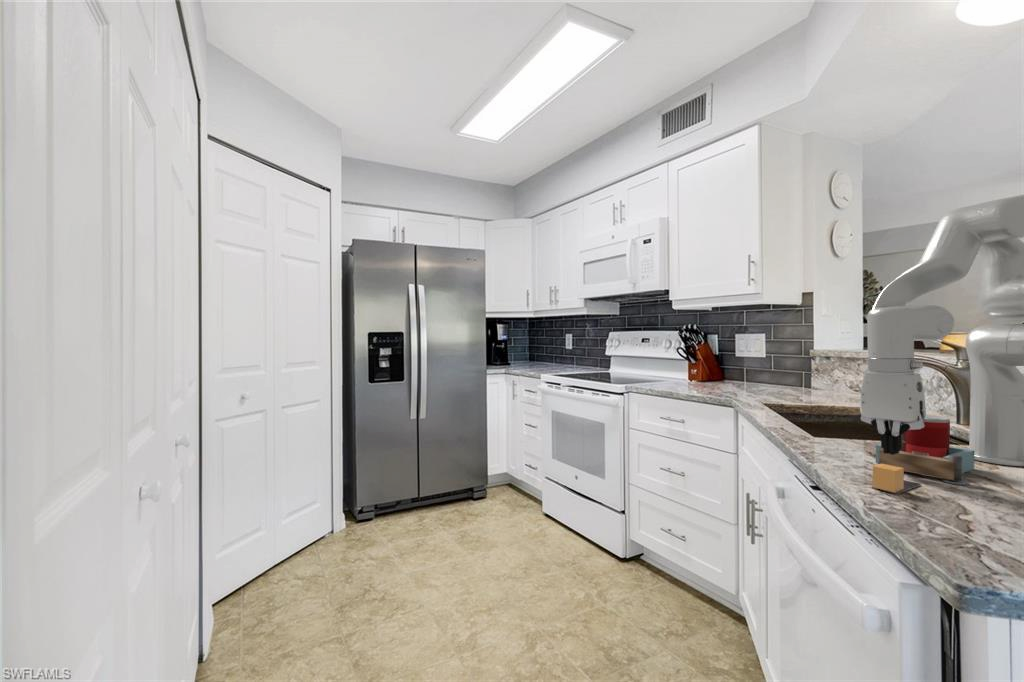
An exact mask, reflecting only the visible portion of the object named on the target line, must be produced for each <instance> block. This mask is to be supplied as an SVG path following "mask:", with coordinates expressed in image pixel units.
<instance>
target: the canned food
mask: <svg viewBox="0 0 1024 682" xmlns="http://www.w3.org/2000/svg"><path fill="white" fill-rule="evenodd" d="M923 423H924V426H925V427H924V428H922V429H914V430H908V431H907V432H905V433H904V434H902V451H903V452H909V453H915V454H921V455H927V456H933V457H939V458H943V457H945V456H948V455H949V447H951V446H950V444H951V438H950V437H951V434H950V433H951V420H950V418H949V417H946V416H942V415H934V414H927V413H926V417H925V419H923Z"/></svg>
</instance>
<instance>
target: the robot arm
mask: <svg viewBox="0 0 1024 682" xmlns="http://www.w3.org/2000/svg"><path fill="white" fill-rule="evenodd" d="M1020 238H1024V193H1023V194H1018V195H1014V196H1009V197H1004V198H999V199H993V200H990V201H985V202H981V203H978V204H972V205H968V206H964V207H960V208H956V209H952V210H950V211H949V212H947V213H945V214H944V215H943V216H942V217H941V219H940V220H939V222H938V223H937V225H936V227H935V229H934V231H933V233H932V235H931V237H930V240H929V242H928V243H927V245H926V248H925V249H924V252H923V253H922V256H921V257H920V259H919V261H918V263H916V264H915V265H913V266H912V267H910V268H908V269H907V270H906V271H904V272H903V273H902V274H900V275H899V276H898V277H896V278H895V279H894V280H892V281H891V282H890V283H889V284H887V285H886V286H885V287H884V288H883V289H882V291H881V292H880V293H879V295H878V296H877V298H876V300H875V301H874V304H873V306H872V309H870V310H869V312H868V313H867V319H866V320H867V321H866V323H867V324H866V325H867V328H866V329H867V371H865V372H863V373H864V374H863V378H862V382H861V388H860V397H859V410H860V414H861V415H860V420H861V421H862V422H864V423H867V424H870V425H872V426H873V427H874V428H875V429H876V430H877V432H878V434H880V444H881V447H882V448H883V452H884V453H886V454H888V453H889V454H891V455H894V454H897V453H899V451H901V449H902V434H904V433H905V432H907V431H908V430H914V429H922V428H924V427H925V426H924V423H923V419H925V417H926V414H927V411H926V409H927V408H926V399H925V398H926V397H925V393H924V392H925V391H924V387H923V386H924V385H923V381H922V377H921V374H920V373H918V372H917V373H915V372H916V370H918V369H920V370H921V369H923V367H924V363H923V362H922V361H917V360H916V358H915V341H916V342H917V341H920V342H932V341H938V340H941V339H944V338H946V337H947V336H949V335H950V333H951V332H952V331H953V329H954V327H955V319H954V316H953V314H952V312H951V311H949V310H948V309H947V308H945V307H943V306H941V305H936V304H934V305H933V304H923V305H909V304H910V303H911V302H912V301H914V300H916V299H918V298H920V297H921V296H923V295H926V294H928V293H930V292H934V291H937V290H939V289H942V288H945V287H947V286H949V285H952V284H954V283H956V282H959V281H960V280H962V279H963V278H965V277H966V276H968V274H969V272H970V270H971V268H972V266H973V263H974V261H975V259H976V257H977V255H978V257H979V262H980V265H979V266H980V271H979V283H978V298H977V300H978V301H977V303H978V305H977V306H978V310H979V312H980V313H981V314H982V315H983V316H985V317H988V318H992V319H995V318H996V319H1024V242H1023V240H1022V239H1020ZM965 350H966V354H967V358H968V364H969V370H970V373H969V374H970V394H969V395H970V396H969V397H970V401H969V402H970V403H969V405H970V406H969V446H968V447H964V448H962V449H968V450H974V461H979V462H983V463H990V464H995V465H1001V466H1002V465H1003V466H1012V467H1024V375H1023V373H1022V372H1021V371H1020V370H1019V369H1018V367H1024V323H994V324H985V325H980V326H977V327H975V328H974V329H973V328H972V329H971V330H970V331H969V332H968V334H967V335H966V337H965ZM890 422H892V427H891V423H890Z"/></svg>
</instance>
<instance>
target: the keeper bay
mask: <svg viewBox="0 0 1024 682" xmlns="http://www.w3.org/2000/svg"><path fill="white" fill-rule="evenodd" d="M880 449H883V448H882V447H881V443H879V444H875V463H876V462H878V463H877V464H879V450H880ZM901 451H902V449H901ZM950 455H957V456H961V457H962V474H965V473H966V472H970V471H971V470H974V469H975V460H974V450H968V449H963V448H961V447H957V446H956V447H955V446H950V447H949V455H948V456H945V457H943V458H944V459H949V457H950Z"/></svg>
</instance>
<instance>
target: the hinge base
mask: <svg viewBox="0 0 1024 682" xmlns="http://www.w3.org/2000/svg"><path fill="white" fill-rule="evenodd" d="M941 481H942V482H943V483H946V484H951V485H955V486H963V485H967V486H970V482H969V481H967V480H964V479H962V480H961V481H957V480H949V479H944V478H941Z"/></svg>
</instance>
